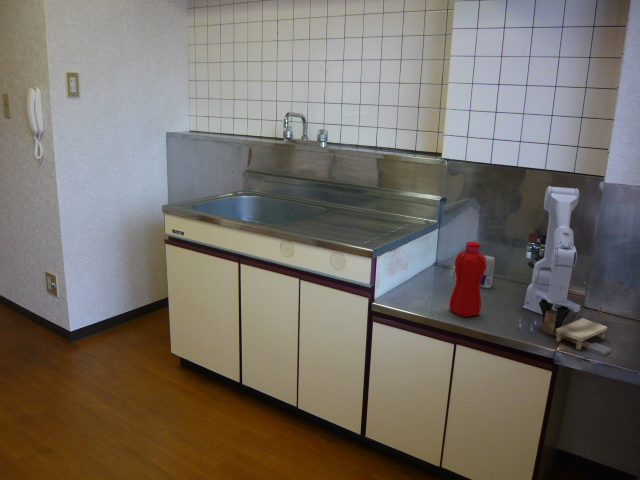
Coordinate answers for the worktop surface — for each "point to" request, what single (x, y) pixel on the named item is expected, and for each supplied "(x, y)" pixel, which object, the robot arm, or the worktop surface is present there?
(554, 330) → the wooden mallet
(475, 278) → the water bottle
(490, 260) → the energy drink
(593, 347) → the coaster
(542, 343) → the worktop surface
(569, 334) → the small wooden table
